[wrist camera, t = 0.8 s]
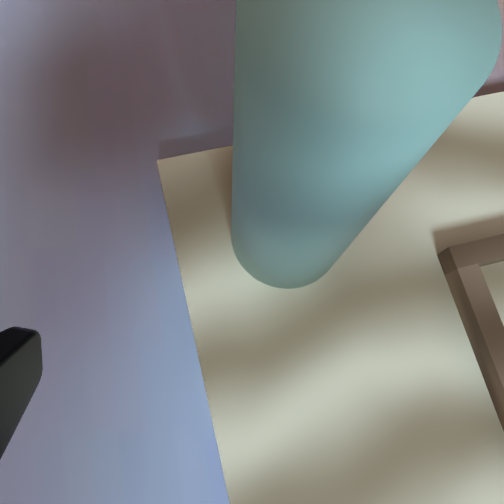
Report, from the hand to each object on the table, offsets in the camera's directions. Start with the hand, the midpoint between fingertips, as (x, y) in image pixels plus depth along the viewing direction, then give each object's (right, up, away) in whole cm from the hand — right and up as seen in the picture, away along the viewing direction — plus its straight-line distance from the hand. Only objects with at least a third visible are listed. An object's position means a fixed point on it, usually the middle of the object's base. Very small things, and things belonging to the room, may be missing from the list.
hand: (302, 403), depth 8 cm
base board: (+8, 0, +14) cm, 16 cm away
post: (+1, +3, +13) cm, 14 cm away
